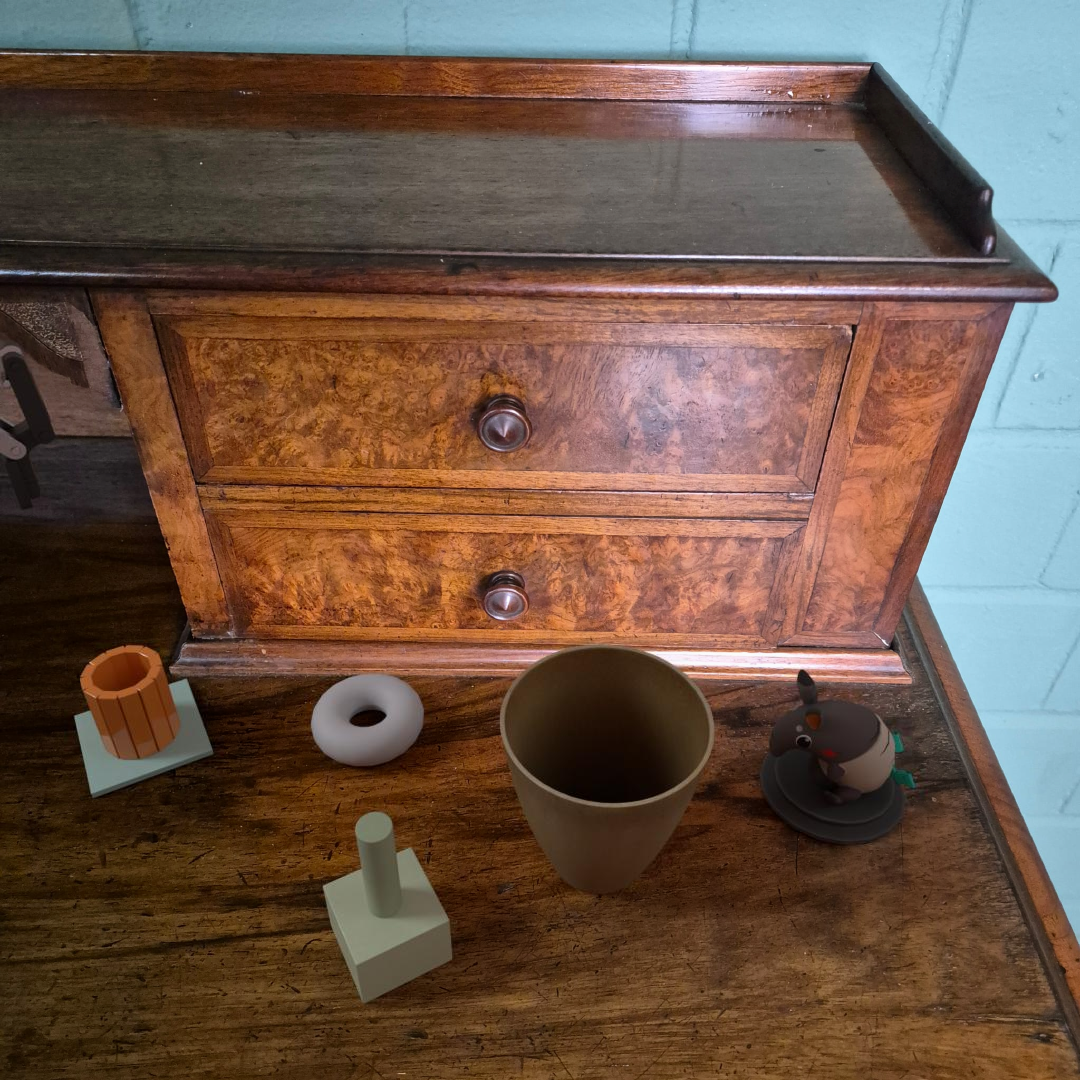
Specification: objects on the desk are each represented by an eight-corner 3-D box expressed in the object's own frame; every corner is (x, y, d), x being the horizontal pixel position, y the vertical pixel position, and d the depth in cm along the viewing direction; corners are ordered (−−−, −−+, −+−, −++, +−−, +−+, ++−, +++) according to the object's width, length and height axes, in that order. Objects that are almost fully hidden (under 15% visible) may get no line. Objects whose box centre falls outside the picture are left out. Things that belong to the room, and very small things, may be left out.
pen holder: (110, 770, 81) (86, 708, 77) (98, 721, 86) (75, 660, 81) (186, 742, 84) (168, 681, 79) (171, 696, 88) (152, 636, 84)
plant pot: (496, 788, 81) (493, 649, 71) (668, 775, 82) (687, 638, 72) (509, 952, 69) (507, 812, 59) (710, 935, 70) (739, 795, 61)
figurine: (918, 851, 76) (957, 752, 69) (767, 842, 77) (792, 743, 70) (885, 743, 85) (917, 647, 78) (751, 736, 86) (771, 639, 79)
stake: (363, 1004, 66) (341, 890, 58) (330, 925, 70) (306, 809, 62) (452, 959, 68) (443, 844, 60) (415, 886, 73) (402, 770, 65)
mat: (93, 798, 79) (91, 793, 79) (75, 720, 86) (74, 715, 86) (213, 754, 83) (212, 749, 83) (188, 682, 90) (186, 678, 90)
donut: (291, 734, 85) (361, 794, 80) (285, 707, 83) (356, 766, 78) (377, 677, 91) (448, 728, 86) (373, 650, 89) (446, 701, 84)
